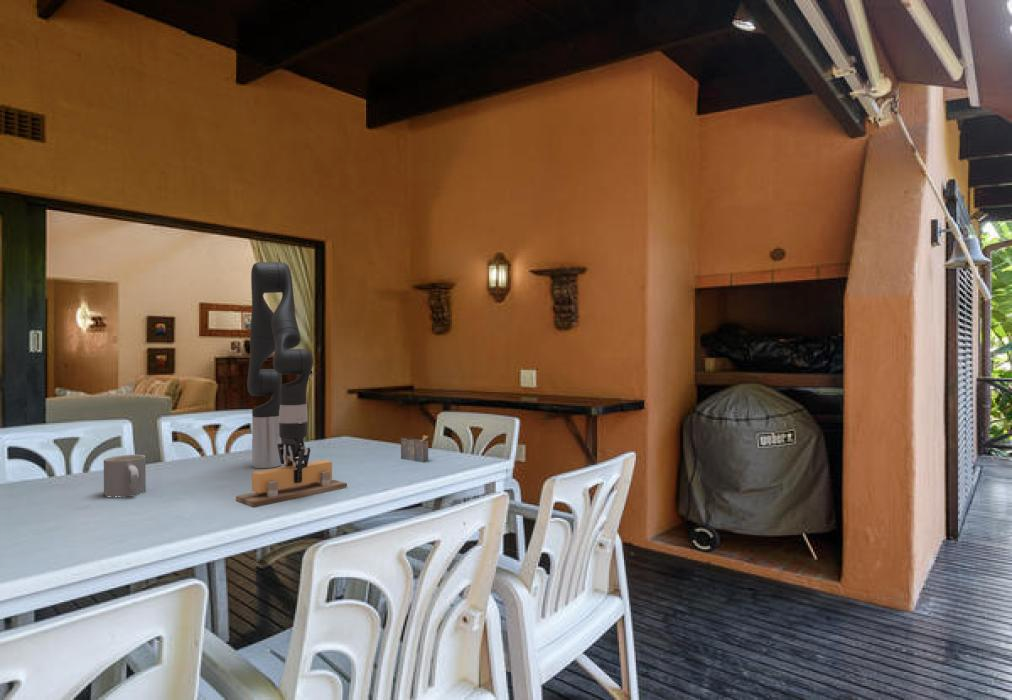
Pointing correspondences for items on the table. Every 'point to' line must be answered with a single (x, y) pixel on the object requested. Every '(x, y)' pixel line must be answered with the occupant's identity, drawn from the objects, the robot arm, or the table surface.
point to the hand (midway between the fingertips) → (293, 481)
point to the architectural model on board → (414, 449)
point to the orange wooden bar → (289, 476)
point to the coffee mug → (124, 475)
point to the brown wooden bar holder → (290, 491)
